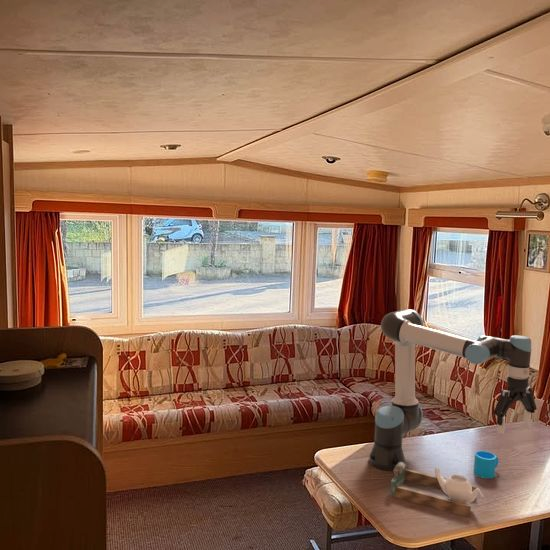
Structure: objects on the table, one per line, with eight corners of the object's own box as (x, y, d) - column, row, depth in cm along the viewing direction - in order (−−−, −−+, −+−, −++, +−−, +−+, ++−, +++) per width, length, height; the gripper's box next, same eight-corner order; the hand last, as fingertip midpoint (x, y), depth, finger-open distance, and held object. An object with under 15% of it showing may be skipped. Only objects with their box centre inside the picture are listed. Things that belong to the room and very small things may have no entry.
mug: (485, 480, 217) (486, 461, 216) (469, 471, 224) (470, 453, 223) (505, 474, 223) (506, 455, 222) (488, 466, 230) (490, 447, 229)
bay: (388, 495, 203) (389, 472, 202) (400, 476, 218) (401, 455, 217) (469, 517, 190) (471, 493, 189) (476, 495, 205) (477, 473, 204)
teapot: (476, 518, 189) (478, 493, 188) (426, 495, 204) (428, 472, 203) (489, 509, 195) (491, 484, 194) (440, 487, 210) (441, 465, 209)
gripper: (501, 382, 195) (497, 438, 197) (549, 376, 205) (544, 429, 208) (485, 377, 202) (481, 431, 204) (533, 370, 212) (528, 422, 215)
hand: (513, 430), depth 206 cm, fingers open, 13 cm apart
